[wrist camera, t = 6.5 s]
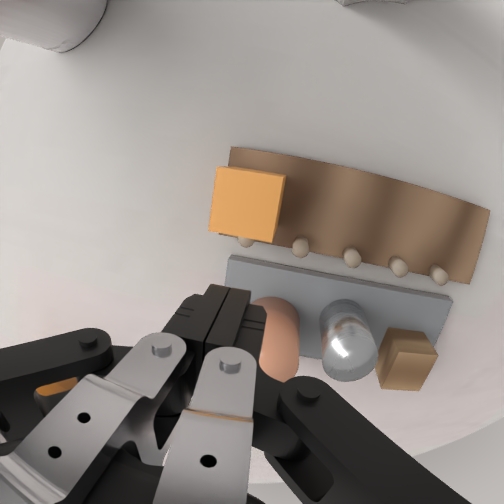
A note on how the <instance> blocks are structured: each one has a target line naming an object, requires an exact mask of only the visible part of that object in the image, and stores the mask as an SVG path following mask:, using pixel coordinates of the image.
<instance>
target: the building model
mask: <svg viewBox="0 0 504 504" xmlns="http://www.w3.org/2000/svg"><path fill="white" fill-rule="evenodd" d="M336 1H338V2H339V3H340V4H341V5H342V6H346V5H349V4H353V3H357V2H364V1H389V2H397V3H404V4H406V3H407V2H408V0H336Z"/></svg>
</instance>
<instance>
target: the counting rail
mask: <svg viewBox="0 0 504 504" xmlns="http://www.w3.org/2000/svg"><path fill="white" fill-rule="evenodd" d="M228 167H240V168H247V169H253V170H259V171H265V172H271V173H277V174H283V175H286V180H285V186H284V192H283V198H282V203H281V209H280V215H279V220H278V226H277V229H276V232H275V235H274V238H273V241H272V243H270V242H265V241H260V240H255V239H250V238H244V237H239V236H234V235H228V234H223V233H219V234H220V235H225V236H231V237H236V238H238V241H239V243H240V245H241V246H243V247H250V246H252V245H253V243H254V242H255V241H257V242H262V243H267V244H273V245H278V246H283V247H288V248H292V251H293V254H294V255H295V256H296V257H298V258H303V257H305V256H307V254H308V252H314V253H319V254H324V255H329V256H334V257H339V258H344V260H345V262H346V264H347V266H348V267H350V268H356V267H358V266H359V265H360V263H361V262H364V263H369V264H374V265H379V266H384V267H388V268H390V269H391V270H392V271H393V273H394V274H395V275H396V276H397V277H400V278H401V277H404V276H405V275H406V274H407V273H408V272H413V273H417V274H422V275H427V276H430V277H431V278H432V279H433V280H434V281H435V282H436V283H437V284H438V285H440V286H442V285H445V284H446V283H447V281H448V280H451V281H455V282H460V283H465V284H470V282H471V279H472V276H473V273H474V270H475V266H476V263H477V260H478V257H479V253H480V250H481V246H482V243H483V239H484V235H485V231H486V227H487V223H488V219H489V214H490V210H488V209H485V208H482V207H480V206H477V205H474V204H472V203H469V202H466V201H463V200H460V199H457V198H454V197H452V196H449V195H446V194H442V193H439V192H436V191H433V190H430V189H427V188H423V187H420V186H417V185H413V184H410V183H407V182H403V181H399V180H396V179H392V178H388V177H385V176H381V175H377V174H373V173H369V172H365V171H361V170H357V169H353V168H348V167H344V166H339V165H335V164H330V163H325V162H321V161H316V160H311V159H305V158H300V157H295V156H289V155H283V154H278V153H271V152H265V151H259V150H252V149H245V148H238V147H231V150H230V157H229V163H228Z"/></svg>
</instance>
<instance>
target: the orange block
mask: <svg viewBox="0 0 504 504" xmlns="http://www.w3.org/2000/svg"><path fill="white" fill-rule="evenodd" d="M285 180H286V175H283V174H277V173H271V172H265V171H259V170H253V169H247V168H240V167H217V169H216V176H215V184H214V191H213V198H212V206H211V214H210V222H209V230H208V231H212V232H218V233H223V234H228V235H234V236H239V237H244V238H250V239H255V240H260V241H265V242H270V243H272V241H273V238H274V235H275V232H276V229H277V226H278V220H279V215H280V209H281V203H282V198H283V192H284V186H285Z"/></svg>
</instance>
